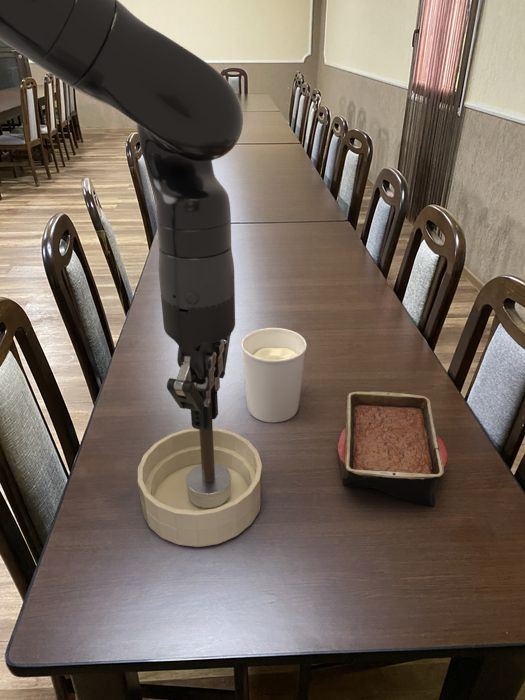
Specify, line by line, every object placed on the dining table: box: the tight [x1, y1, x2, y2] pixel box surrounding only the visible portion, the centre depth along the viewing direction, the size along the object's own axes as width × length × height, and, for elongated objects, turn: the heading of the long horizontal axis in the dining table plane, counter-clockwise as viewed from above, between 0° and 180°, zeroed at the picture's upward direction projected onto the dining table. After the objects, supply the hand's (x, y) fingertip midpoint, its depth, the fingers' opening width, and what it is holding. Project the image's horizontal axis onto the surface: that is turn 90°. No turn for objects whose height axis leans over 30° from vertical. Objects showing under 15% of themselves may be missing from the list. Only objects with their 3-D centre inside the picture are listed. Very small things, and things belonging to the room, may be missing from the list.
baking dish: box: [336, 390, 448, 508], centre depth 73 cm, size 14×18×10 cm
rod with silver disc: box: [187, 389, 231, 508], centre depth 65 cm, size 6×6×16 cm
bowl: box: [137, 427, 263, 548], centre depth 68 cm, size 15×15×6 cm
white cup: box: [240, 327, 308, 424], centre depth 84 cm, size 10×10×12 cm
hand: (205, 421), depth 63 cm, fingers closed on rod with silver disc
